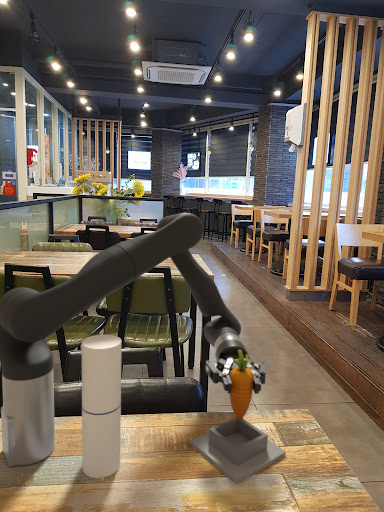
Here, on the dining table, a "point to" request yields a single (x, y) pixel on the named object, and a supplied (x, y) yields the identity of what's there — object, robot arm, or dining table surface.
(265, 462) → the sleeve stand
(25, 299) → the robot arm
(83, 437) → the cylindrical container
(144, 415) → the dining table surface
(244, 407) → the carrot
